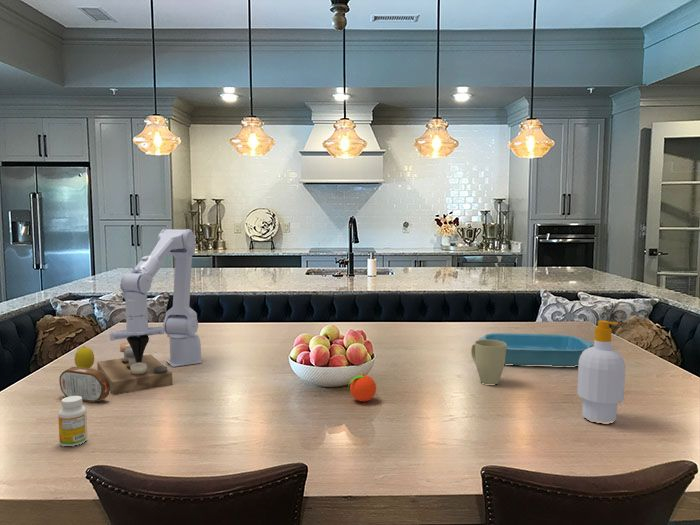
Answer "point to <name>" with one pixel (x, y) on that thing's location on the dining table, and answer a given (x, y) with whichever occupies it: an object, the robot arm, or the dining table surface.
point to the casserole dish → (541, 348)
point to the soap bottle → (601, 377)
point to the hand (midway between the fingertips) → (138, 361)
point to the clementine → (362, 388)
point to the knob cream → (138, 368)
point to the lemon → (84, 357)
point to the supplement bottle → (72, 422)
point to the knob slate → (130, 356)
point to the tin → (84, 384)
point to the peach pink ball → (122, 349)
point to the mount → (127, 382)
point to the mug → (489, 359)
